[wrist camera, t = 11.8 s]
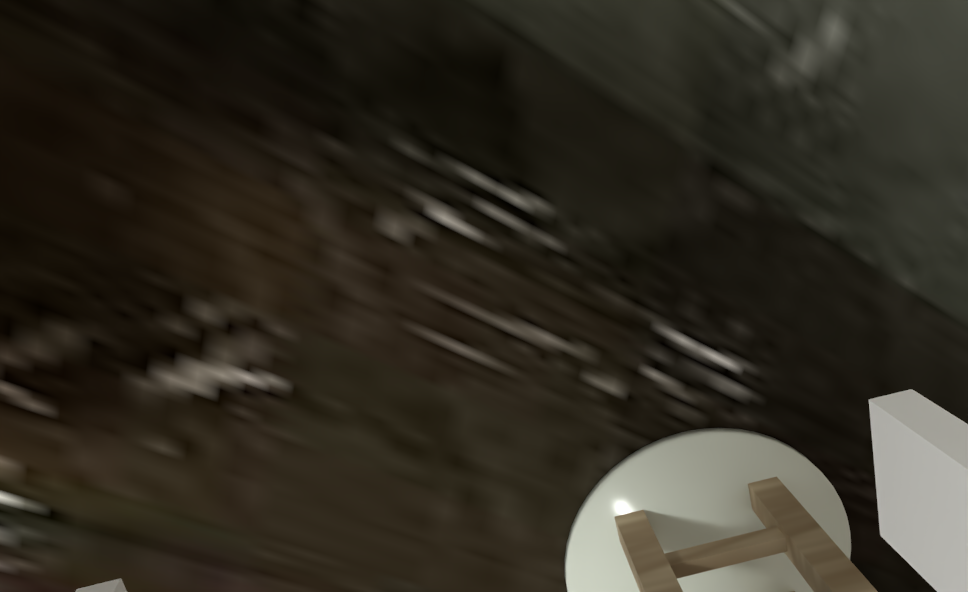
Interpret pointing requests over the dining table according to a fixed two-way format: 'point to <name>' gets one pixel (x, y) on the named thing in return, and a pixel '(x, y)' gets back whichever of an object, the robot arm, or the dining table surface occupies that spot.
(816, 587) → the stool
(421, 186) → the dining table surface
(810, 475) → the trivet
